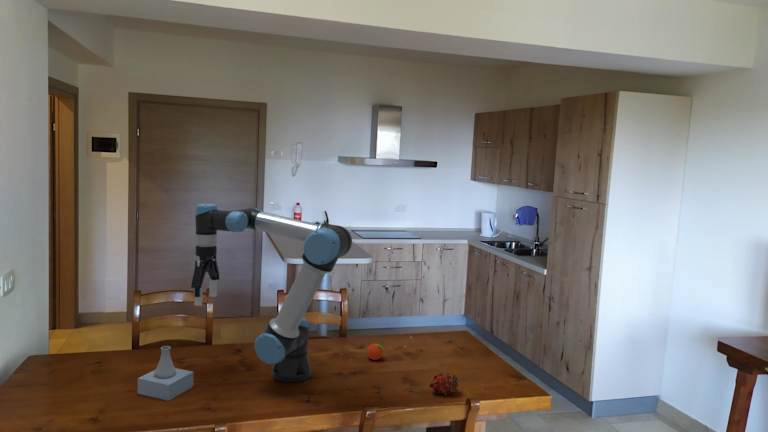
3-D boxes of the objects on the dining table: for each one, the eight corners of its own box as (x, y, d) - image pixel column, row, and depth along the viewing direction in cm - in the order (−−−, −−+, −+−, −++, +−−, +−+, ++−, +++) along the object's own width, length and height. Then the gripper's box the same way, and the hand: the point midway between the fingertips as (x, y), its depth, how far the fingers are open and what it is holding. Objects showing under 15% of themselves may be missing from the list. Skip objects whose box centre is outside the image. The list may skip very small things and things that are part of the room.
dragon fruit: (460, 396, 207) (431, 404, 203) (451, 377, 213) (422, 384, 209) (465, 384, 201) (435, 392, 198) (455, 365, 207) (426, 371, 203)
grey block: (193, 387, 199) (193, 371, 198) (168, 402, 187) (168, 385, 186) (163, 381, 203) (163, 365, 202) (137, 394, 191) (137, 378, 190)
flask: (167, 380, 190) (167, 352, 189) (149, 376, 192) (150, 349, 191) (180, 372, 197) (181, 345, 196) (163, 369, 198) (163, 342, 198)
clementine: (387, 359, 237) (388, 343, 236) (378, 364, 231) (379, 347, 230) (372, 355, 241) (373, 339, 240) (363, 359, 235) (364, 343, 235)
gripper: (209, 240, 218) (209, 292, 220) (181, 249, 194) (181, 308, 196) (228, 241, 218) (227, 293, 220) (201, 250, 193) (201, 310, 195)
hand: (205, 300), depth 208 cm, fingers open, 13 cm apart
